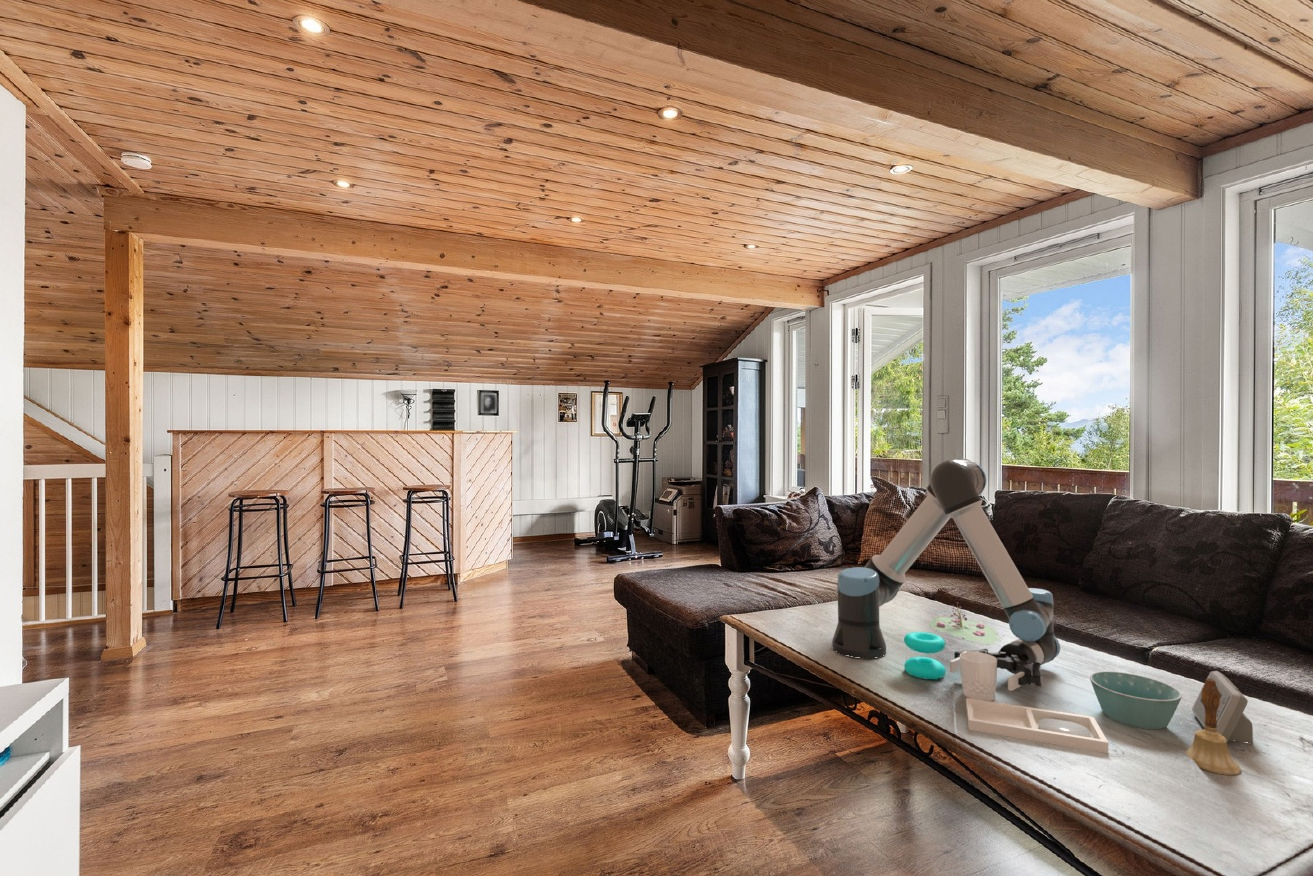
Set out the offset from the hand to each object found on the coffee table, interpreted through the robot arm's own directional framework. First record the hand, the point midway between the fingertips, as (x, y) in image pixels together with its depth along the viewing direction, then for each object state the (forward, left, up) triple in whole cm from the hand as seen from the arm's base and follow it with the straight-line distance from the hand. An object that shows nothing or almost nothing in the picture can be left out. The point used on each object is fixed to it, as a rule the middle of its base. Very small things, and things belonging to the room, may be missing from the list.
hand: (979, 675), depth 143 cm
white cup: (0, +1, -6) cm, 6 cm away
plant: (0, +57, -7) cm, 58 cm away
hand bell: (+38, -14, -6) cm, 41 cm away
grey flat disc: (+15, -14, -5) cm, 21 cm away
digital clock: (+45, +3, -6) cm, 45 cm away
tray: (+9, -14, -6) cm, 17 cm away
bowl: (+30, +1, -6) cm, 31 cm away
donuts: (-12, +13, -6) cm, 19 cm away
